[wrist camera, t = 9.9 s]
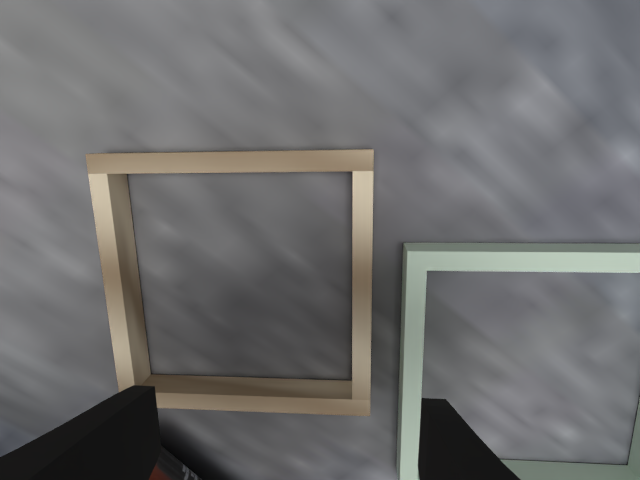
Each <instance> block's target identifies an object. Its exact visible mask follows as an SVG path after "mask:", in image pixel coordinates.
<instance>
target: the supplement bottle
mask: <svg viewBox="0 0 640 480" xmlns="http://www.w3.org/2000/svg"><path fill="white" fill-rule="evenodd" d="M161 450H162V451H161V453H160V455H159V458H158V460H157V462H156V465H155V467H154V469H153V472H152V474H151V476H150V478H149V480H202V479H201V478H199V477H198V476H197V475H196V474H195V473H193V472H192V471H191V470H190V469H189V468H188V467H186V466H185V465H184V464H183V463H182V462H180V461H179V460H178V459H177V458H176V457H174V456H173V455H172V454H171V453H169V452H168V451H167V450H166V449H165V448H164V447H162V446H161Z"/></svg>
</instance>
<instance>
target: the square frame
mask: <svg viewBox="0 0 640 480" xmlns="http://www.w3.org/2000/svg"><path fill="white" fill-rule="evenodd" d="M427 271H512V272H614V273H640V244H614V243H403V269H402V301H401V333H400V366H399V398H398V430H397V462H396V470H397V478H398V480H420V479H419V471H418V452H419V435H420V413H421V391H422V369H423V347H424V325H425V302H426V280H427ZM500 460H501V461H502V462H503V463H504V464H505V465H506V466H507V467H508V468H509V469H510V470H511V471H512V472H513V473H514V474H515V475H516V476H517V477H518V478H520V479H521V480H640V399H639V405H638V410H637V416H636V422H635V427H634V433H633V438H632V444H631V449H630V455H629V460H628V465H609V464H588V463H566V462H545V461H523V460H502V459H500Z"/></svg>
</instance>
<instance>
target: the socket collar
mask: <svg viewBox="0 0 640 480" xmlns="http://www.w3.org/2000/svg"><path fill="white" fill-rule="evenodd" d="M86 161H87V168H88V175H89V183H90V190H91V197H92V204H93V211H94V218H95V225H96V232H97V239H98V246H99V253H100V260H101V268H102V275H103V282H104V289H105V296H106V303H107V310H108V317H109V324H110V331H111V338H112V345H113V353H114V360H115V367H116V374H117V381H118V388H119V392H121V391H123V390H125V389H127V388H129V387H131V386H133V385H139V386H155V392H156V402H157V408H173V409H199V410H225V411H250V412H276V413H301V414H327V415H352V416H370V386H371V312H372V238H373V164H374V150H373V149H352V150H282V151H213V152H144V153H97V154H86ZM328 171H353V231H352V381H344V380H313V379H282V378H250V377H219V376H188V375H157V374H151V371H150V362H149V354H148V346H147V337H146V329H145V321H144V313H143V304H142V296H141V288H140V279H139V271H138V263H137V254H136V246H135V238H134V229H133V221H132V213H131V204H130V196H129V188H128V179H127V174H130V173H229V172H328Z"/></svg>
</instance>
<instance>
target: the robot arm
mask: <svg viewBox="0 0 640 480" xmlns="http://www.w3.org/2000/svg"><path fill="white" fill-rule="evenodd" d="M161 451H162V450H161V440H160V431H159V421H158V412H157V402H156V392H155V386H139V385H133V386H131V387H129V388H127V389H125V390H123V391H121V392H119V393H117V394H115V395H113V396H112V397H110V398H108V399H106V400H105V401H103V402H101V403H99V404H98V405H96V406H94V407H92V408H91V409H89V410H87V411H85V412H84V413H82V414H80V415H78V416H77V417H75V418H73V419H71V420H70V421H68V422H66V423H64V424H63V425H61V426H59V427H57V428H56V429H54V430H52V431H50V432H48V433H46V434H44V435H42V436H40V437H39V438H37V439H35V440H33V441H31V442H29V443H27V444H25V445H24V446H22V447H20V448H18V449H16V450H14V451H12V452H10V453H8V454H6V455H4V456H2V457H0V480H149V478H150V476H151V474H152V472H153V469H154V467H155V465H156V462H157V460H158V458H159V455H160V453H161ZM418 471H419V479H420V480H521V479H520V478H518V477H517V476H516V475H515V474H514V473H513V472H512V471H511V470H510V469H509V468H508V467H507V466H506V465H505V464H504V463H503V462H502V461H501V460H500V459H499V458H498V457H497V456H496V455H495V454H494V453H493V452H492V451H491V450H490V449H489V448H488V446H487V445H486V444H485V443H484V442H483V441H482V440H481V439H480V438H479V437H478V436H477V435H476V433H475V432H474V431H473V430H472V429H471V428H470V427H469V425H468V424H467V423H466V422H465V421H464V420H463V419H462V417H461V416H460V415H459V414H458V413H457V412H456V410H455V409H454V408H453V407H452V406H451V405H450V404H449V402H448V401H447V400H446V399H429V398H422V401H421V418H420V435H419V452H418Z"/></svg>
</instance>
